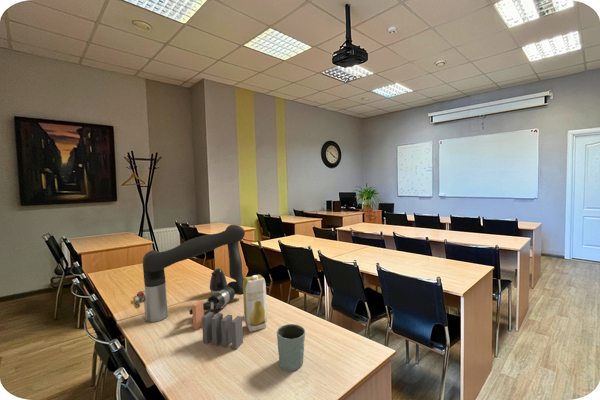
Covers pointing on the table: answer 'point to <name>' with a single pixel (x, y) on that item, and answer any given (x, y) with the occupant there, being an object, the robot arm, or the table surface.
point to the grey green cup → (291, 346)
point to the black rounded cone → (217, 281)
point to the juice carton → (255, 302)
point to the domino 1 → (197, 314)
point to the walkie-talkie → (140, 297)
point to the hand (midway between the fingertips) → (197, 313)
